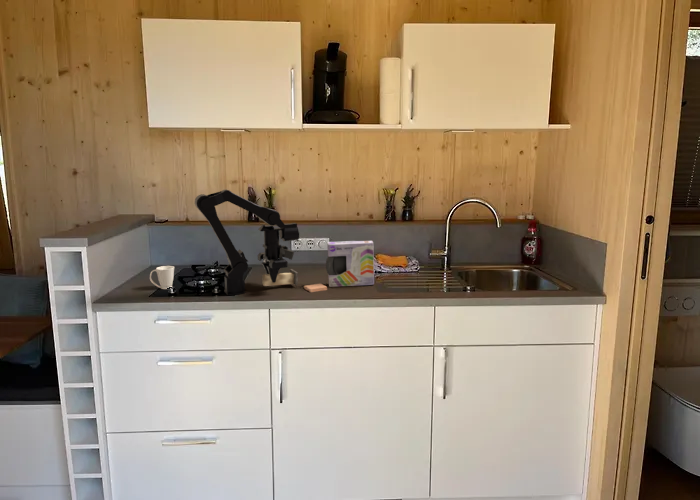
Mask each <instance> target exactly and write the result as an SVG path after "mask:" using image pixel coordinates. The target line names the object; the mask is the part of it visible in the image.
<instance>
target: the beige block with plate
mask: <svg viewBox="0 0 700 500" xmlns="http://www.w3.org/2000/svg"><path fill="white" fill-rule="evenodd" d="M261 281H262V283H261V284H262V285H263V286H264V287H267V286H269V287H270V286H281V285H283V286H285V285H295V286H298V284H299V283H298V282H299V272H297V271H296V270H295V269H293V268H290V269H289V272H281V273H279V272H278V275H277V278H276V282H274V283H273V282H272V280H271V277H270V274H267V273H265V274H262V280H261Z"/></svg>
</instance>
